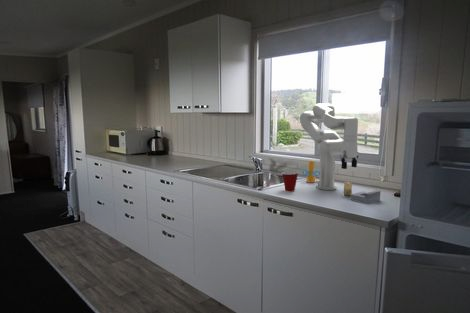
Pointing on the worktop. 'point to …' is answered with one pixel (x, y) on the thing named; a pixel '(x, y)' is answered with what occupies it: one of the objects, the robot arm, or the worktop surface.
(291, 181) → the plastic cup
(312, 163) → the toy airplane
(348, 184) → the bushing
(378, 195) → the jig
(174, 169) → the worktop surface
